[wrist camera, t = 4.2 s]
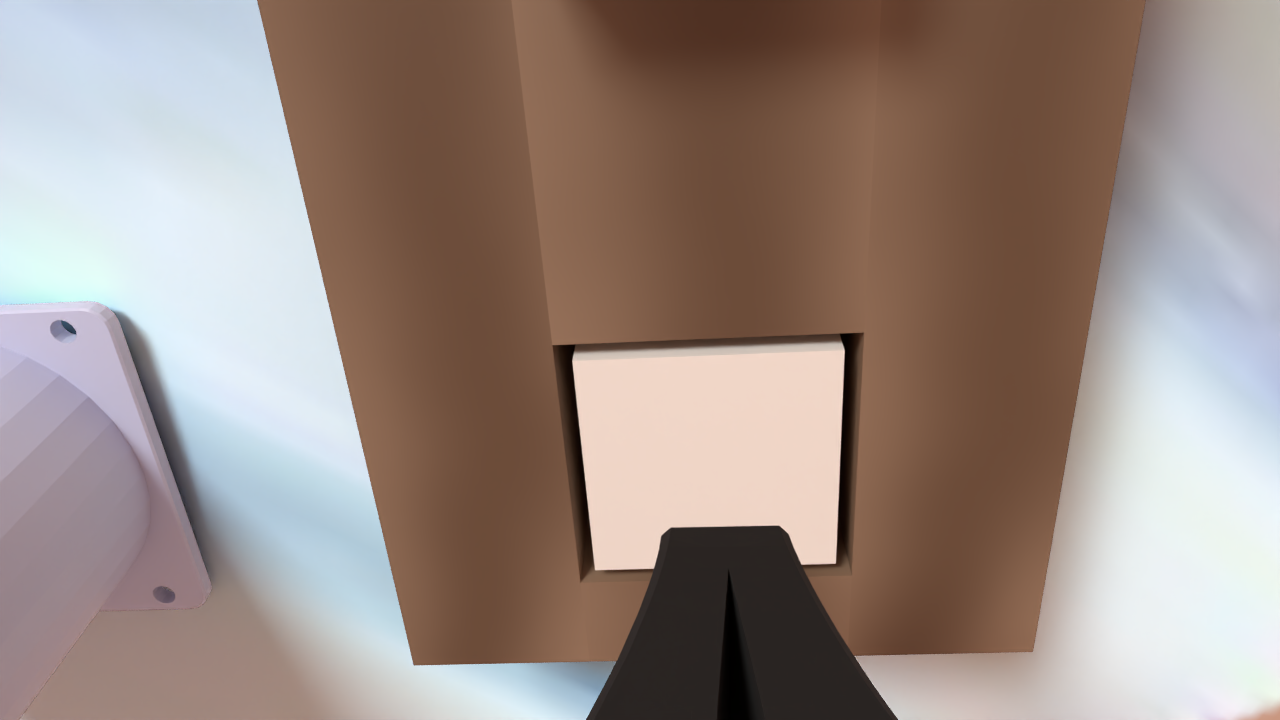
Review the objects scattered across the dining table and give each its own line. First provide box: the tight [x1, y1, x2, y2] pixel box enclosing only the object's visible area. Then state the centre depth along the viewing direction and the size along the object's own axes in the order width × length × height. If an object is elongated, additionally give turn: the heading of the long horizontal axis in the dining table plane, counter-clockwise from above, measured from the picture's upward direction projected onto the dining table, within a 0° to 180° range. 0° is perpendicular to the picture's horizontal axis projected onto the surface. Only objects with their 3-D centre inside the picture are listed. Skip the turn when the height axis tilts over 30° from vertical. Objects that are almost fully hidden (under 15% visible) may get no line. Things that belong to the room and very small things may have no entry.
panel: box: [257, 0, 1146, 665], centre depth 16 cm, size 12×20×4 cm, turn 4°
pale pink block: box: [572, 334, 845, 570], centre depth 18 cm, size 4×4×3 cm
